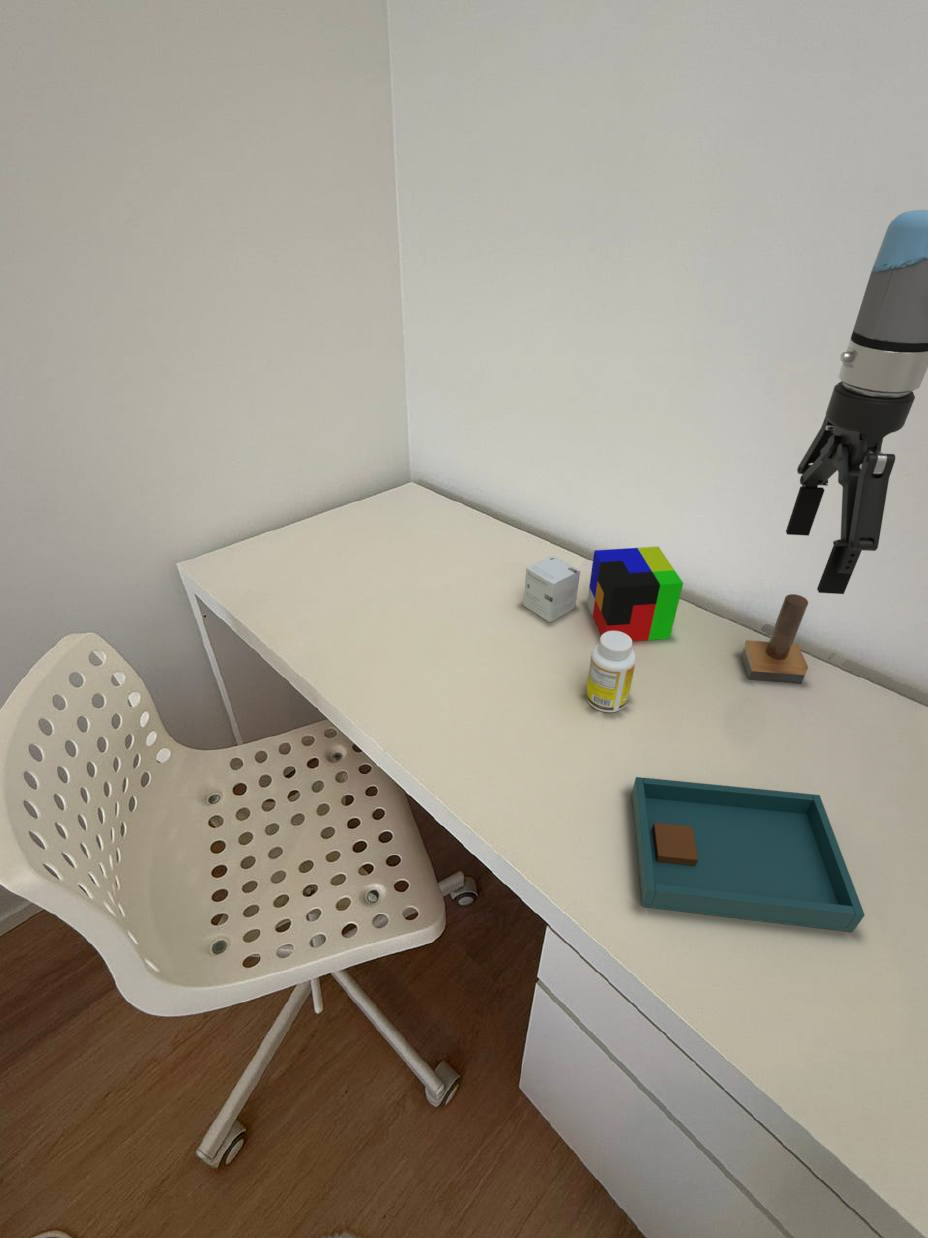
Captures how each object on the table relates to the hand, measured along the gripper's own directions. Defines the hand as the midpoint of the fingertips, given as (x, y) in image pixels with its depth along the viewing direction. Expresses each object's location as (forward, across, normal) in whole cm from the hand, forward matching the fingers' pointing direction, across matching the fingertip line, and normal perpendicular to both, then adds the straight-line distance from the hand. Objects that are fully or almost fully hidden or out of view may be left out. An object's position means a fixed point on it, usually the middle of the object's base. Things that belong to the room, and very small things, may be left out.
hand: (812, 561), depth 80 cm
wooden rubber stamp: (+18, 0, 0) cm, 18 cm away
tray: (+18, +31, -12) cm, 38 cm away
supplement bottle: (+18, +9, -24) cm, 31 cm away
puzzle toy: (+18, -9, -20) cm, 28 cm away
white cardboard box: (+18, -11, -32) cm, 38 cm away
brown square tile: (+17, +31, -18) cm, 40 cm away
